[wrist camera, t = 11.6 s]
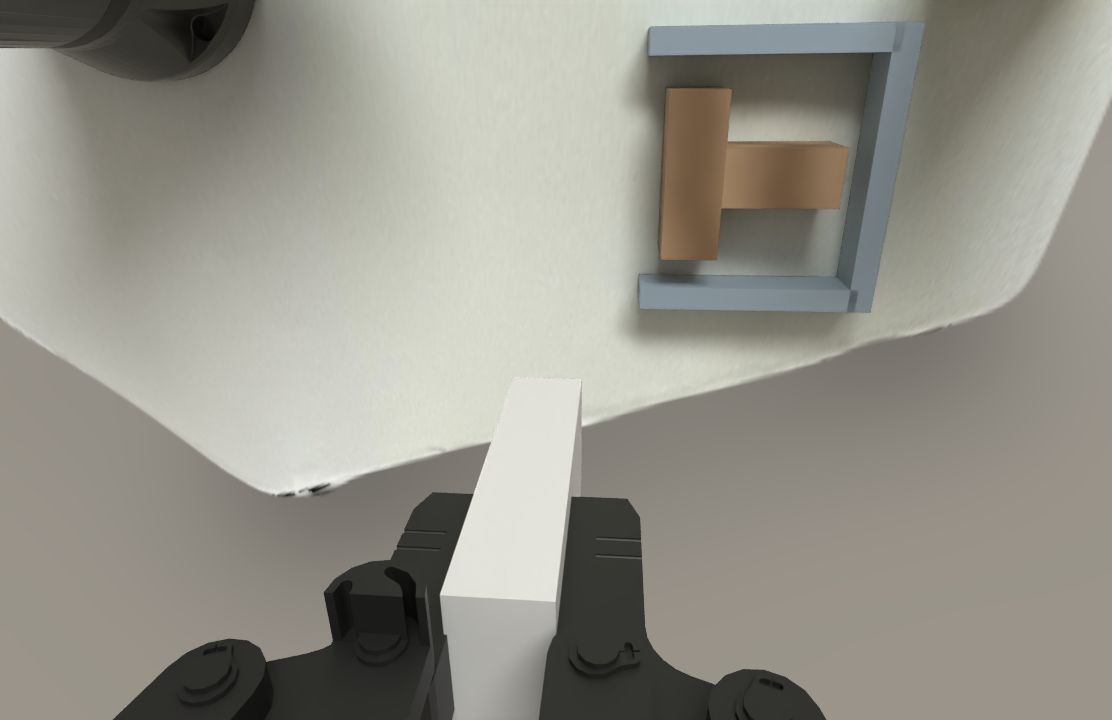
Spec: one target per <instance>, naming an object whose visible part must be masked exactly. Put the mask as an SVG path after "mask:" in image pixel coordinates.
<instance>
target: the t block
mask: <svg viewBox="0 0 1112 720" xmlns="http://www.w3.org/2000/svg"><path fill="white" fill-rule="evenodd" d="M731 93H732V89H728V88H723V87H694V88H665V107H664V127H663V147H662V167H661V187H660V207H659V227H658V248H659V253H660V257H661V260H717V254H718V242H719V231H720V219H721V208H742V209H840V203H841V196H842V190H843V184H844V177H845V171H846V165H847V158H848V152H849V148H847V147H844V146H841V145H839V144H836V143H833V142H830V141H745V142H727V139H728V128H729V116H730V105H731Z"/></svg>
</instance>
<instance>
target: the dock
mask: <svg viewBox="0 0 1112 720" xmlns="http://www.w3.org/2000/svg"><path fill="white" fill-rule="evenodd" d="M924 26H925V21H923V22H869V23H814V24H760V25H706V26H652V27H650V28H649V31H648V56H682V55H750V54H818V53H873V58H872V64H871V70H870V76H869V82H868V88H867V95H866V101H865V107H864V113H863V119H862V125H861V131H860V137H859V143H858V150H857V156H856V162H855V168H854V174H853V180H852V186H851V192H850V198H849V205H848V211H847V217H846V223H845V229H844V235H843V241H842V247H841V253H840V260H839V266H838V272H837V277H807V276H726V275H645V274H639V287H638V298H639V309H681V310H741V311H801V312H860V313H870V312H871V307H872V301H873V296H874V291H875V286H876V280H877V275H878V270H879V264H880V259H881V254H882V249H883V243H884V238H885V233H886V227H887V222H888V217H889V211H890V206H891V201H892V196H893V190H894V185H895V180H896V174H897V169H898V164H899V159H900V153H901V148H902V143H903V137H904V132H905V127H906V122H907V116H908V111H909V106H910V100H911V95H912V90H913V85H914V79H915V74H916V69H917V63H918V58H919V53H920V48H921V42H922V37H923V32H924Z"/></svg>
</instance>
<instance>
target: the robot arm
mask: <svg viewBox="0 0 1112 720" xmlns="http://www.w3.org/2000/svg"><path fill="white" fill-rule="evenodd" d="M253 5H254V0H0V48H52V49H54V50H56V51H58V52H61V53H63V54H65V55H67V56H69V57H72V58H74V59H76V60H78V61H80V62H83V63H85V64H87V65H89V66H91V67H93V68H96V69H98V70H100V71H102V72H105V73H108V74H111V75H114V76H118V77H122V78H127V79H132V80H140V81H168V80H179V79H185V78H189V77H193V76H196V75H199V74H201V73H203V72H205V71H207V70H209V69H211V68H212V67H214V66H215V65H217V64H218V63H219V62H221V61H222V60H223V59H224V58H225V57H226V56H227V55H228V54H229V53H230V52H231V51H232V49H233V48H234V47H235V46H236V44H237V43H238V41H239V40H240V38H241V36H242V35H243V33H244V31H245V29H246V26H247V24H248V22H249V19H250V16H251V13H252V9H253ZM581 409H582V379H560V378H525V377H513V379H512V382H511V385H510V388H509V391H508V394H507V397H506V400H505V403H504V406H503V409H502V412H501V415H500V418H499V421H498V424H497V427H496V430H495V433H494V436H493V439H492V442H491V445H490V448H489V451H488V454H487V457H486V459H485V462H484V465H483V468H482V471H481V474H480V477H479V480H478V483H477V486H476V489H475V492H474V494H457V493H432V494H430V495H429V497H427V498H426V499H425V500H424V501H423V502H421V503H420V504H419V505H418V506H417V507H416V508H415V509H414V510H413V512H412V514H411V516H410V518H409V521H408V523H407V525H406V527H405V532H404V533H403V534H402V536H401V538H400V540H399V542H398V545H397V550H395V551H394V553H393V555H392V558H391V560H384V561H372V562H368V563H365V564H362V565H359V566H356V567H354V568H351V569H349V570H348V571H346V572H345V573H343V574H342V575H340V576H339V577H337V578H336V579H335V580H334V581H333V582H332V583H331V584H330V585H329V587H328V588H327V589H326V590H325V592H324V596H325V602H326V607H327V612H328V617H329V622H330V628H331V633H332V638H333V642H332V644H331V645H329V646H327V647H325V648H323V649H320V650H317V651H314V652H310V653H307V654H302V655H298V656H293V657H288V658H283V659H278V660H273V661H268V662H266V660H265V658H264V656H263V653H262V651H261V649H260V648H259V647H257V646H256V645H254V644H252V643H251V642H249V641H247V640H237V639H226V640H221V641H216V642H211V643H207V644H205V645H203V646H200V647H198V648H196V649H194V650H191V651H189V652H187V653H186V654H184V655H183V656H182V657H180V658H179V659H178V660H177V661H175V662H174V663H172V664H171V665H170V666H169V667H167V668H166V669H165V670H164V671H163V672H162V673H161V674H160V675H159V676H158V677H157V678H156V679H155V680H154V681H153V682H152V683H151V684H150V685H149V686H147V687H146V688H145V689H144V690H143V691H142V692H141V693H140V694H139V695H138V696H137V697H136V698H135V699H134V700H133V701H132V702H131V703H130V704H129V705H128V706H127V707H126V708H124V709H123V711H121V712H120V713H119V714H118V715H117V716H116V717H115V718H114V719H113V720H452V718H453V720H826V719H825V717H824V715H823V713H822V712H821V710H820V708H819V707H818V706H817V704H816V703H815V702H814V701H813V700H812V698H811V697H810V696H809V695H808V694H807V692H806V691H805V690H804V689H802V688H801V687H799V686H798V685H796V684H795V683H793V682H792V681H790V680H789V679H788V678H786V677H783V676H781V675H778V674H775V673H772V672H769V671H766V670H751V669H742V670H740V671H737V672H734V673H731V674H728V675H725V676H724V677H723V678H722V679H721V680H720V681H719V682H718V683H717V684H716V685H714V684H712V683H709V682H706V681H703V680H700V679H697V678H695V677H692V676H689V675H687V674H685V673H683V672H681V671H679V670H676V669H675V668H673V667H672V666H671V665H669V664H668V663H667V662H665V661H664V660H663V659H662V658H661V657H660V656H659V655H658V654H657V653H656V651H655V650H654V649H653V647H652V645H651V644H650V642H649V640H648V638H647V634H646V628H645V615H644V594H643V572H642V550H641V530H640V517H639V515H638V514H637V513H636V511H635V509H634V508H633V506H632V505H631V504H630V502H629V501H628V499H618V498H594V497H580V489H581Z"/></svg>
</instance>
